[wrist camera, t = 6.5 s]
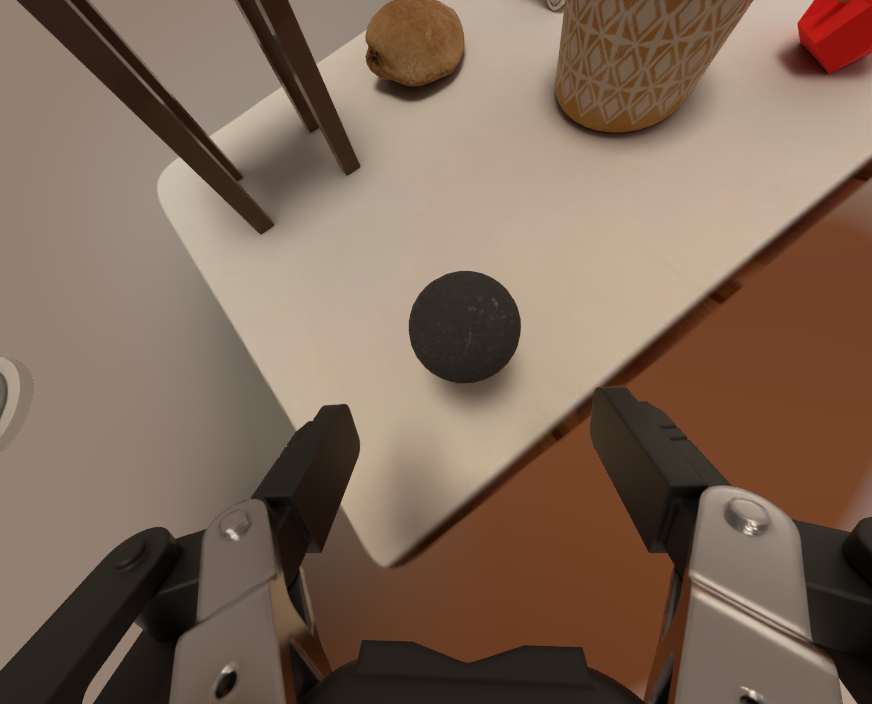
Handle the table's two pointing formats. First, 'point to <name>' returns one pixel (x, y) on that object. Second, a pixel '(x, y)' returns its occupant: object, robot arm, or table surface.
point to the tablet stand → (555, 4)
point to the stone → (414, 41)
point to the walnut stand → (152, 102)
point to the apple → (837, 31)
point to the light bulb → (464, 327)
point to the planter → (637, 57)
